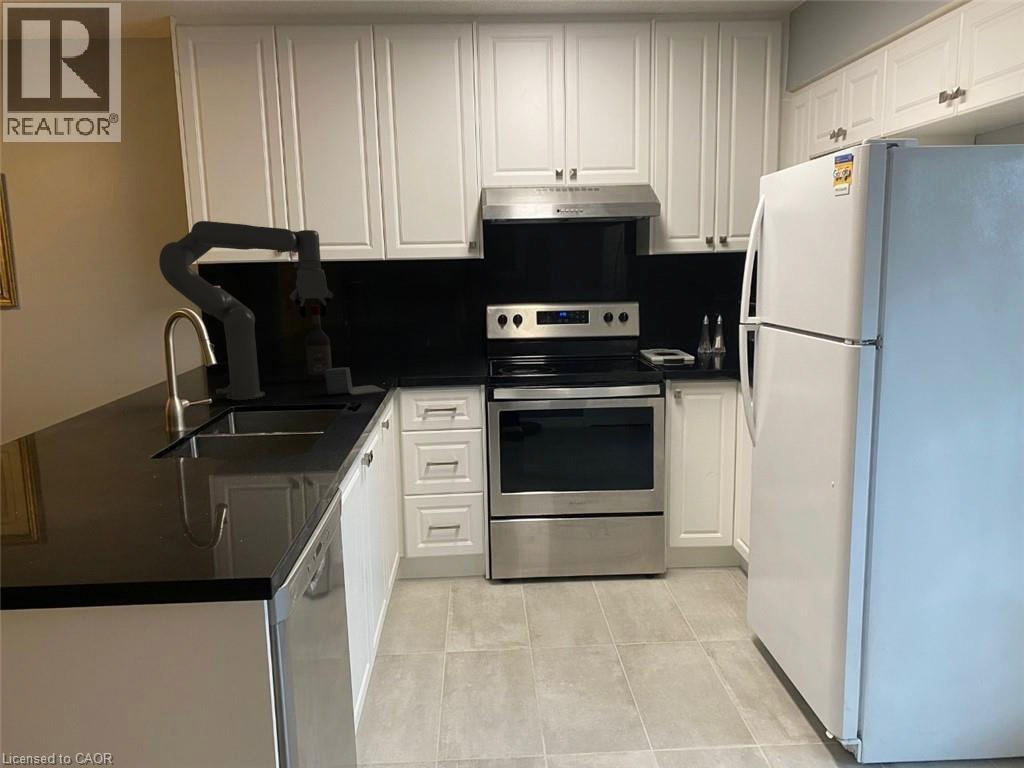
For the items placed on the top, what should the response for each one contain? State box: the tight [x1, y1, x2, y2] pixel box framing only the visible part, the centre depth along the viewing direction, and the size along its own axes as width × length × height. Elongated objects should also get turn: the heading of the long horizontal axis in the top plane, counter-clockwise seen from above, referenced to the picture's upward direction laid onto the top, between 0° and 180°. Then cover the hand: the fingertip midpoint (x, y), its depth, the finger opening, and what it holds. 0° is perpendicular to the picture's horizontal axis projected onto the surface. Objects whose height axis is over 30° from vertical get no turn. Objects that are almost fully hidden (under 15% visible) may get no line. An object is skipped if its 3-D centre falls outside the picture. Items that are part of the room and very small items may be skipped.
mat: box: [348, 384, 387, 396], centre depth 254 cm, size 12×14×1 cm
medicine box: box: [325, 367, 353, 395], centre depth 248 cm, size 8×4×9 cm, turn 84°
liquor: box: [304, 304, 333, 383], centre depth 279 cm, size 9×9×30 cm
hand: (313, 316), depth 248 cm, fingers open, 6 cm apart
